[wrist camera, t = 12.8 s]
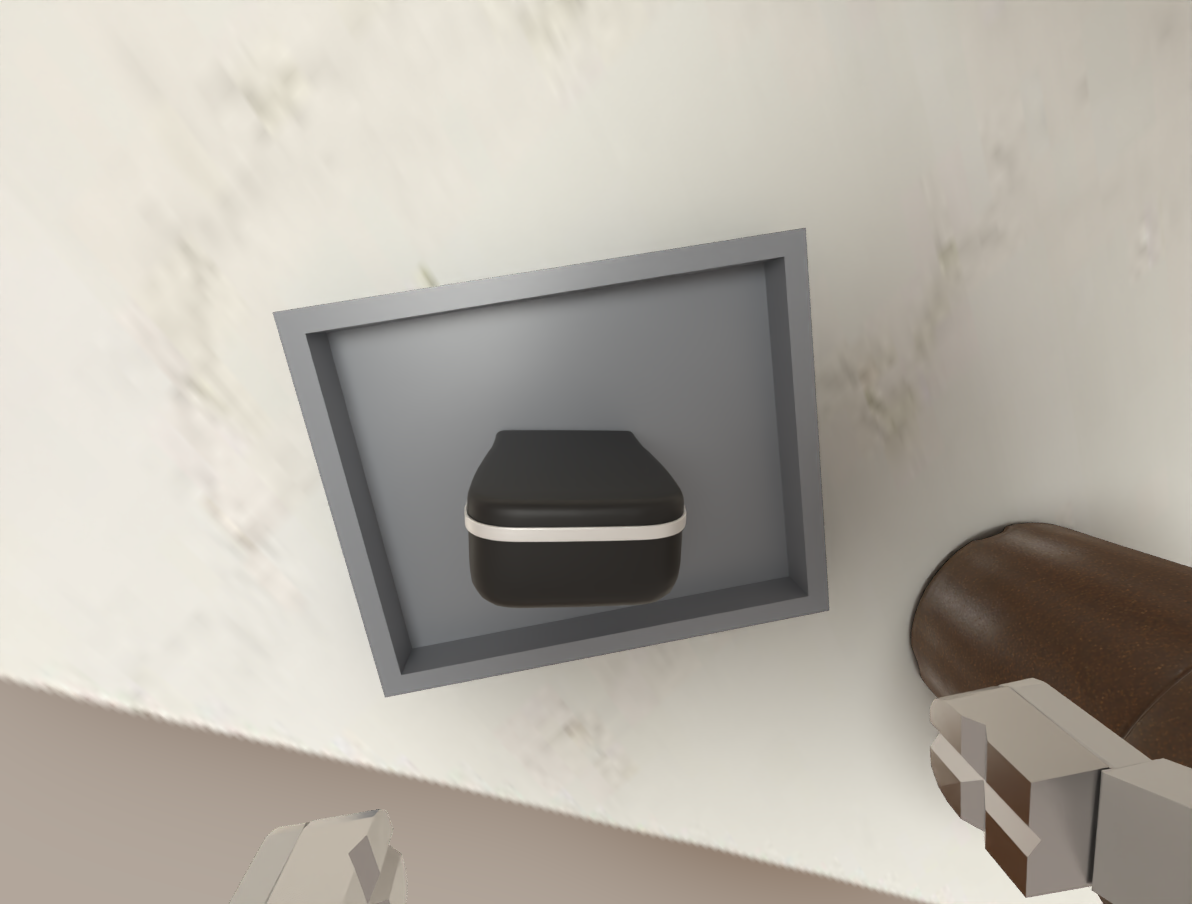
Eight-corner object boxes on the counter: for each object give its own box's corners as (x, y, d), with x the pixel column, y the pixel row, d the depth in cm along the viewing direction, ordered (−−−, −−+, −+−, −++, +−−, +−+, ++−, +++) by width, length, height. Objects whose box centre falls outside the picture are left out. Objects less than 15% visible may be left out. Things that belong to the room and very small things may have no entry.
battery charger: (493, 505, 27) (456, 632, 16) (491, 428, 26) (451, 505, 15) (635, 503, 27) (696, 625, 16) (637, 428, 27) (704, 503, 15)
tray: (776, 238, 26) (805, 227, 23) (801, 582, 30) (829, 610, 27) (304, 313, 25) (272, 312, 22) (401, 659, 29) (384, 697, 26)
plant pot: (1069, 754, 35) (1498, 1107, 19) (836, 723, 33) (1105, 1092, 17) (1180, 515, 31) (1809, 705, 16) (929, 463, 29) (1370, 622, 14)
